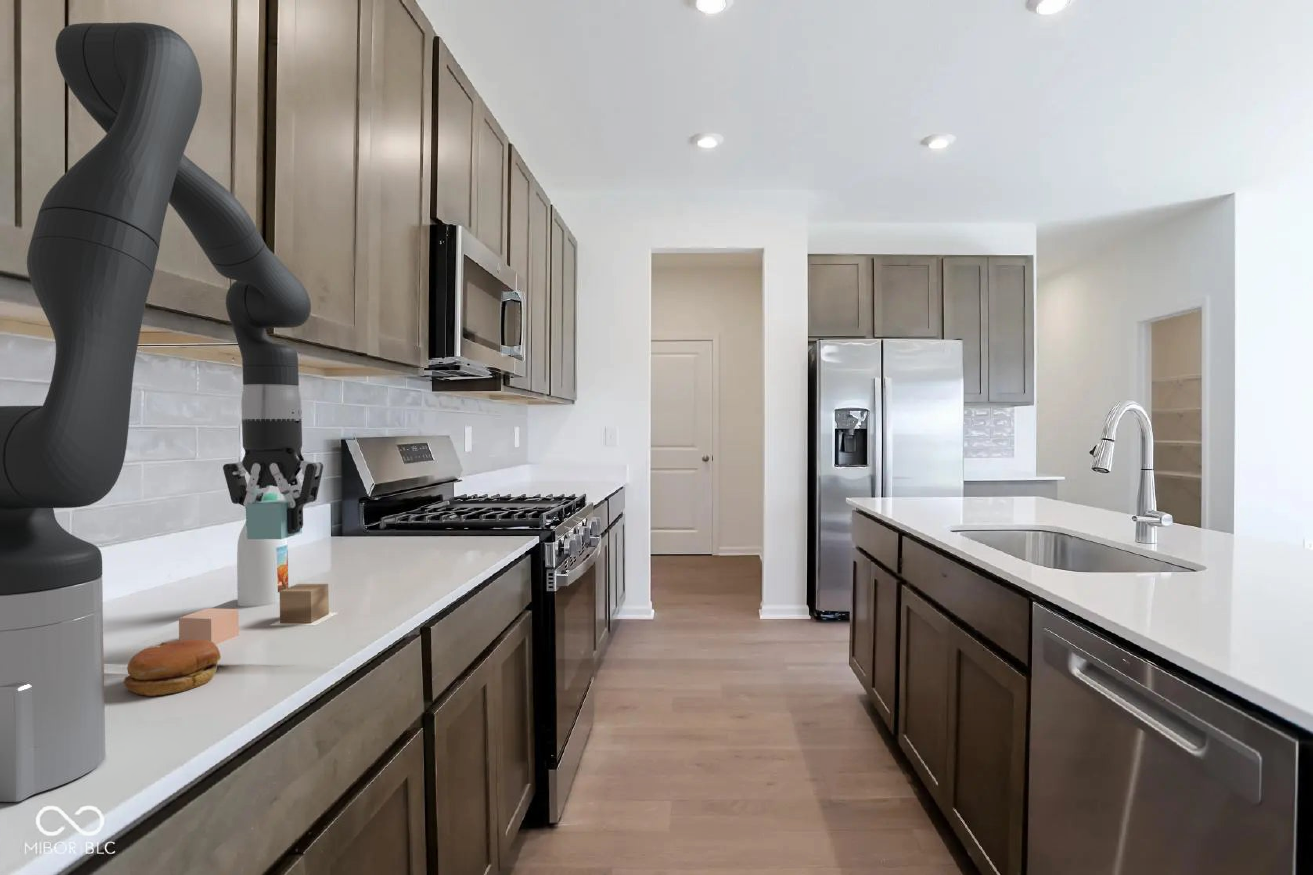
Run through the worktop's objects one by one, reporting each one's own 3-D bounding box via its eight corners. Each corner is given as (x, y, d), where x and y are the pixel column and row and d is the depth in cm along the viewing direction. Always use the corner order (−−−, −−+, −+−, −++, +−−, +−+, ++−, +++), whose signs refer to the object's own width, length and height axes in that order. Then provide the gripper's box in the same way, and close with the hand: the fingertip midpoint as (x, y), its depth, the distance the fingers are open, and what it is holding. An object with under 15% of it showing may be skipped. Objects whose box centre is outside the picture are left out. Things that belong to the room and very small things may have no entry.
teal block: (281, 539, 92) (280, 504, 92) (247, 539, 93) (246, 504, 93) (301, 533, 97) (301, 499, 97) (269, 533, 98) (268, 499, 98)
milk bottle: (265, 613, 111) (263, 496, 110) (226, 611, 112) (225, 496, 112) (298, 602, 118) (297, 492, 118) (262, 600, 120) (260, 491, 119)
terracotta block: (211, 654, 90) (211, 619, 90) (179, 653, 91) (178, 617, 91) (238, 643, 95) (238, 609, 95) (208, 641, 96) (207, 608, 96)
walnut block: (311, 623, 101) (311, 591, 101) (280, 623, 101) (279, 591, 101) (328, 614, 106) (328, 583, 106) (298, 614, 106) (298, 583, 106)
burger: (177, 700, 75) (177, 659, 75) (103, 698, 76) (102, 658, 76) (239, 669, 85) (239, 633, 85) (173, 668, 86) (172, 632, 86)
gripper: (205, 417, 91) (209, 537, 92) (305, 416, 91) (308, 537, 91) (241, 417, 99) (244, 528, 99) (334, 416, 98) (336, 528, 99)
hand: (275, 532), depth 95 cm, fingers closed on teal block, 5 cm apart
